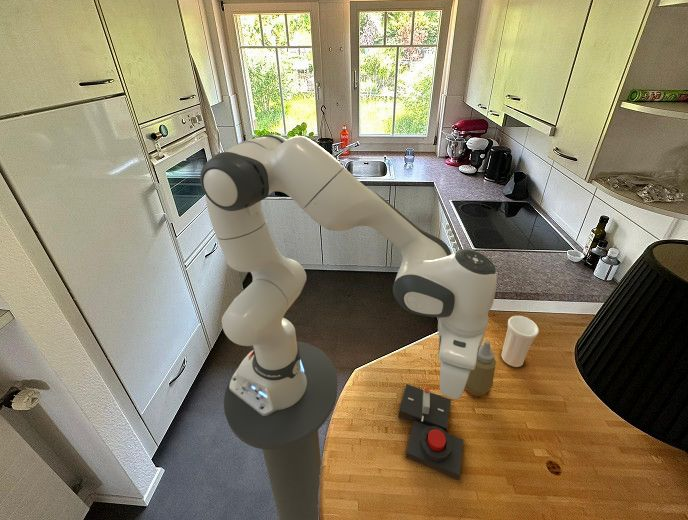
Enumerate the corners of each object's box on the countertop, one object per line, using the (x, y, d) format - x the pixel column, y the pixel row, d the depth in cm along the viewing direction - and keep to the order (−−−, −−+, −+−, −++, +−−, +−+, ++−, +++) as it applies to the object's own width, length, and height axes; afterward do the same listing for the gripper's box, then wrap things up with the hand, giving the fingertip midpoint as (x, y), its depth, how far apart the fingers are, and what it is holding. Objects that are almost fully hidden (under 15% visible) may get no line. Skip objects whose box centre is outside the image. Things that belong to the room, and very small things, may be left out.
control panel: (397, 419, 83) (398, 412, 82) (406, 388, 91) (407, 381, 89) (445, 437, 79) (446, 430, 78) (449, 404, 87) (451, 396, 85)
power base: (405, 457, 76) (406, 448, 74) (413, 425, 82) (414, 415, 80) (458, 480, 72) (461, 471, 70) (461, 444, 78) (464, 434, 76)
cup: (528, 373, 95) (541, 339, 88) (498, 366, 97) (509, 332, 90) (524, 352, 102) (536, 318, 95) (496, 345, 104) (506, 312, 97)
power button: (425, 447, 74) (426, 443, 73) (429, 430, 77) (429, 426, 77) (443, 454, 73) (444, 450, 72) (446, 437, 76) (447, 433, 75)
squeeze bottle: (459, 395, 89) (471, 350, 81) (460, 371, 96) (470, 327, 87) (491, 404, 87) (506, 358, 78) (489, 378, 94) (502, 334, 85)
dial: (428, 414, 81) (429, 406, 80) (422, 413, 82) (423, 405, 80) (428, 396, 86) (429, 388, 84) (422, 395, 86) (424, 387, 84)
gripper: (451, 289, 73) (443, 333, 80) (437, 361, 56) (429, 409, 63) (480, 296, 71) (470, 340, 77) (475, 372, 54) (462, 421, 61)
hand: (451, 371), depth 70 cm, fingers open, 8 cm apart
